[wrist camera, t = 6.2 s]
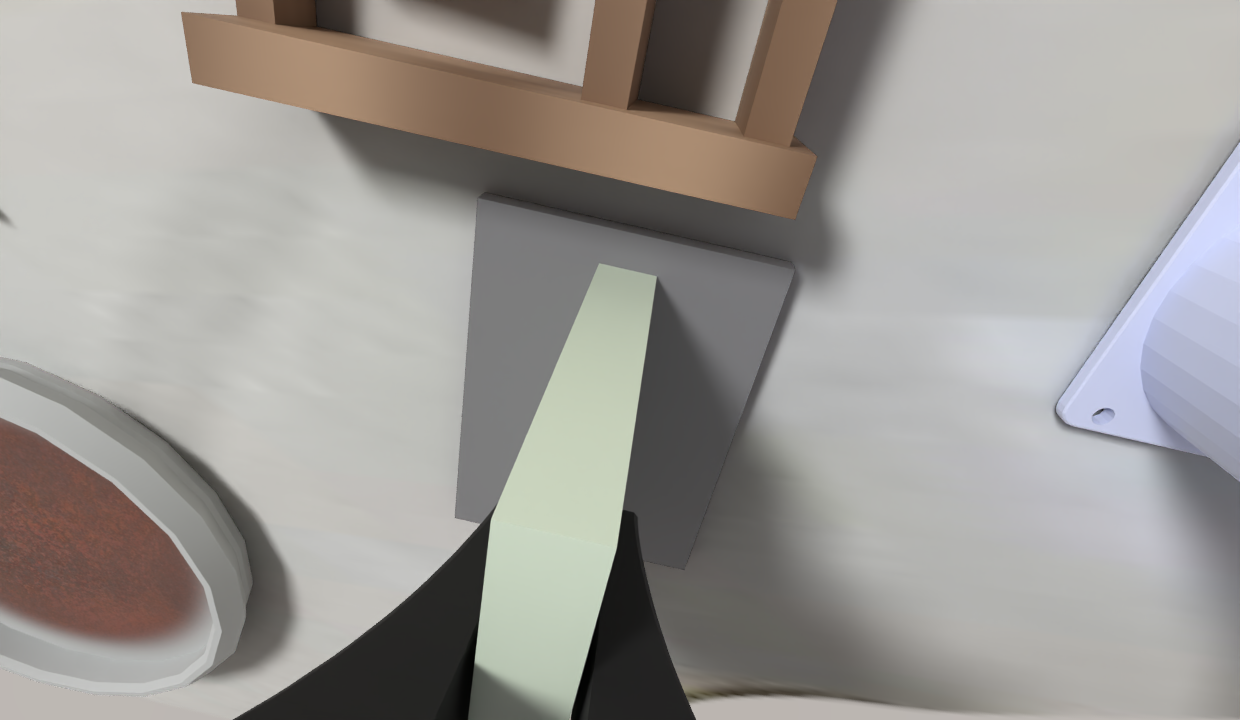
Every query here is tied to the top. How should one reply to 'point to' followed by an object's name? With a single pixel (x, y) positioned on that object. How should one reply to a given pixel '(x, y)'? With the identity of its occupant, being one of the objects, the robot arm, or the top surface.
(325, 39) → the rack
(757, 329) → the mat
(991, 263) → the top surface
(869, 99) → the top surface
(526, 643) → the board
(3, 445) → the frying pan
